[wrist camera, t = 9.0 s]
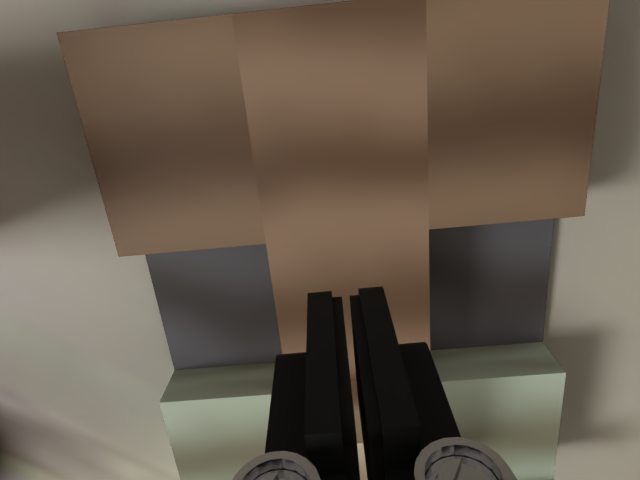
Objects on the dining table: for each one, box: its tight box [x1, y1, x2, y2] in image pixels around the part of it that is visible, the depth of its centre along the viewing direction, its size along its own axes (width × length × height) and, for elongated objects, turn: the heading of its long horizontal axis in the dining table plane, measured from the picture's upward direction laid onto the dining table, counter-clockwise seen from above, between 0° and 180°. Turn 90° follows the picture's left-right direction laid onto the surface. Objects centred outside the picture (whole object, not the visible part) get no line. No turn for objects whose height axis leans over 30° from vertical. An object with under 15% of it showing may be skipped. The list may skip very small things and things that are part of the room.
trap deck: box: [57, 0, 610, 480], centre depth 22 cm, size 25×20×5 cm
